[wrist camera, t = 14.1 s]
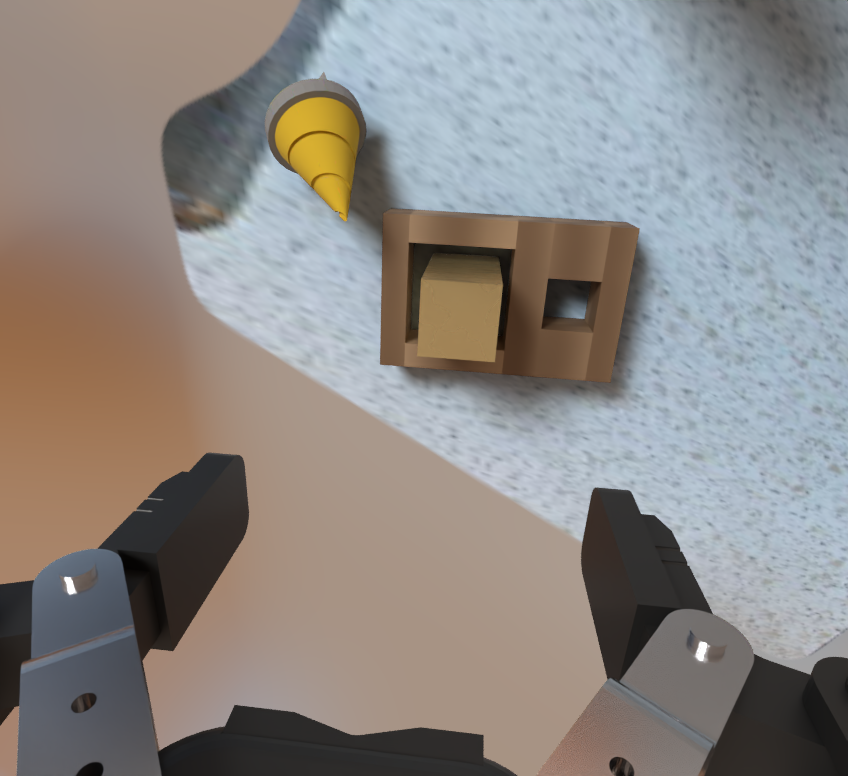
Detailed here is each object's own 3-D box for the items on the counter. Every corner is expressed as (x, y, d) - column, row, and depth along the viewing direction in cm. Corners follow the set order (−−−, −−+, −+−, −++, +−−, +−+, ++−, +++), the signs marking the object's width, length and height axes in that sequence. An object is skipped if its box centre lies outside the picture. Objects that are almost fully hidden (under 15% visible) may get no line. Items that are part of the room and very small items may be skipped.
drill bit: (363, 62, 32) (415, 188, 28) (330, 141, 36) (371, 262, 31) (270, 30, 29) (312, 167, 25) (245, 120, 33) (277, 250, 28)
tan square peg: (498, 256, 35) (502, 284, 27) (492, 319, 36) (494, 362, 29) (433, 252, 35) (421, 279, 28) (430, 315, 37) (417, 356, 29)
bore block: (626, 222, 33) (639, 228, 30) (600, 365, 37) (610, 382, 34) (391, 208, 34) (383, 213, 31) (387, 349, 38) (380, 364, 35)
